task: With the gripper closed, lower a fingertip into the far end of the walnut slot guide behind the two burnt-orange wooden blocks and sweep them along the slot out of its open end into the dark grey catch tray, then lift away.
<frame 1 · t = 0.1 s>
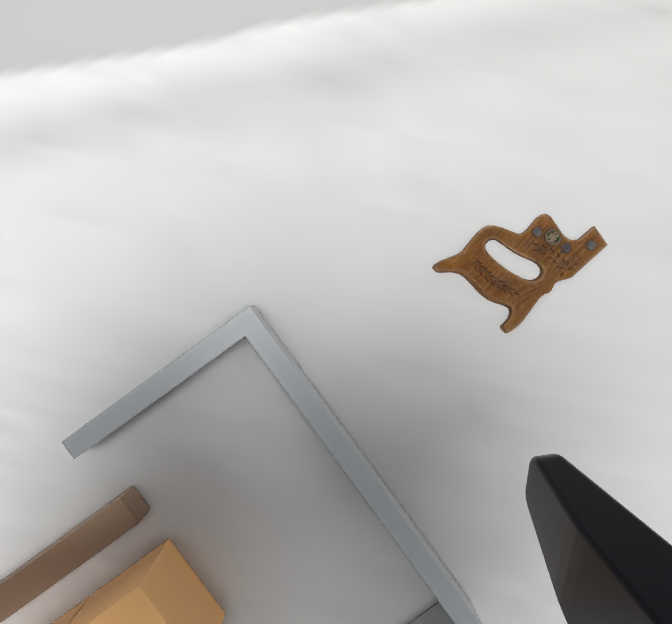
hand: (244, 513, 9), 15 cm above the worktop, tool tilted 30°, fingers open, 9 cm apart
block 1: (159, 603, 24), on the worktop
catch tray: (272, 522, 24), on the worktop
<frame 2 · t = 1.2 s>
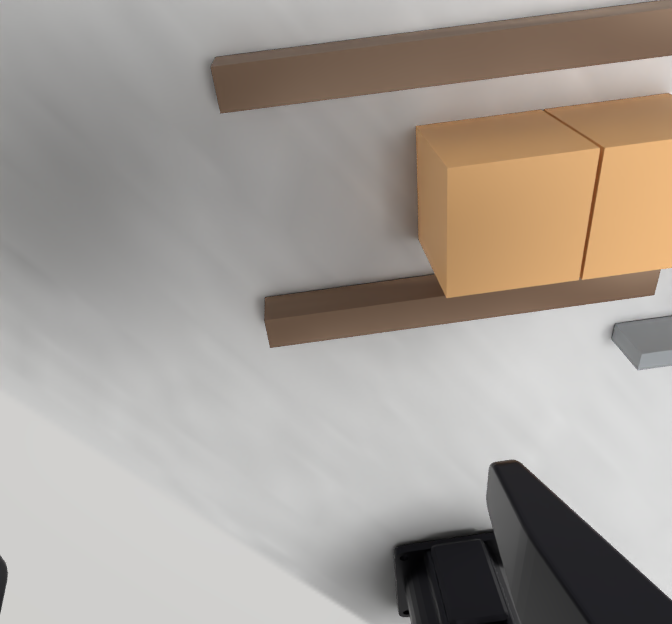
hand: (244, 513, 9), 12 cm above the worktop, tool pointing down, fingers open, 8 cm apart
block 2: (475, 177, 19), on the worktop
block 1: (594, 161, 19), on the worktop
slot guide: (454, 181, 19), on the worktop
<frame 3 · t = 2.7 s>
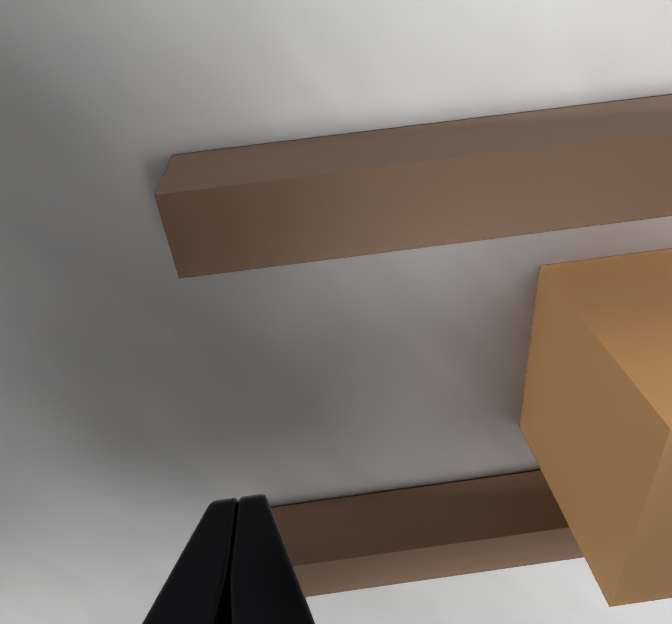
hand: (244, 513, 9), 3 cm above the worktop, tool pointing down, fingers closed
block 2: (626, 338, 11), on the worktop
slot guide: (592, 347, 11), on the worktop
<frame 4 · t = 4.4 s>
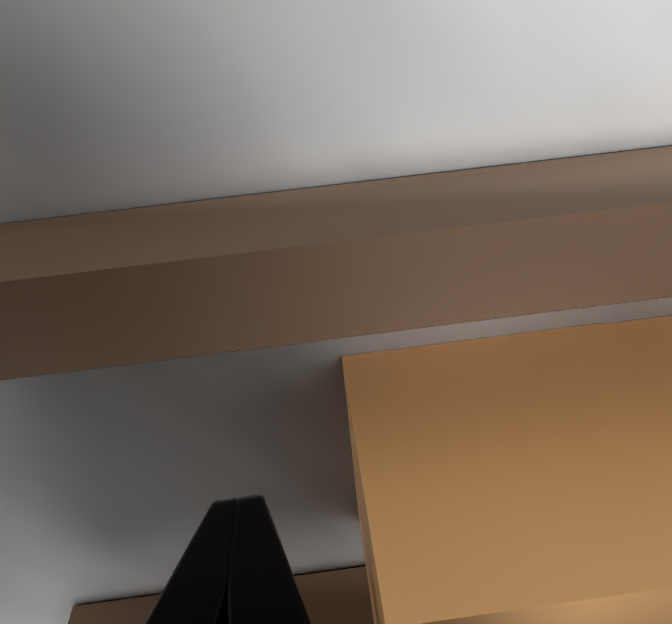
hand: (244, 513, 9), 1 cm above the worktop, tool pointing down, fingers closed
block 2: (467, 431, 10), on the worktop, touching block 1, gripper
slot guide: (416, 441, 10), on the worktop
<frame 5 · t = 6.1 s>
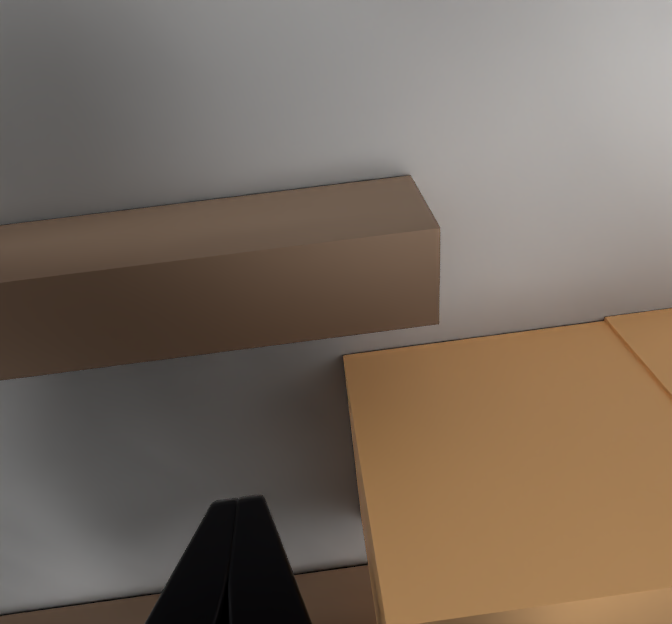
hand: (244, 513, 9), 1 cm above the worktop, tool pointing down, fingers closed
block 2: (469, 431, 10), on the worktop, touching block 1, gripper
slot guide: (1, 495, 9), on the worktop
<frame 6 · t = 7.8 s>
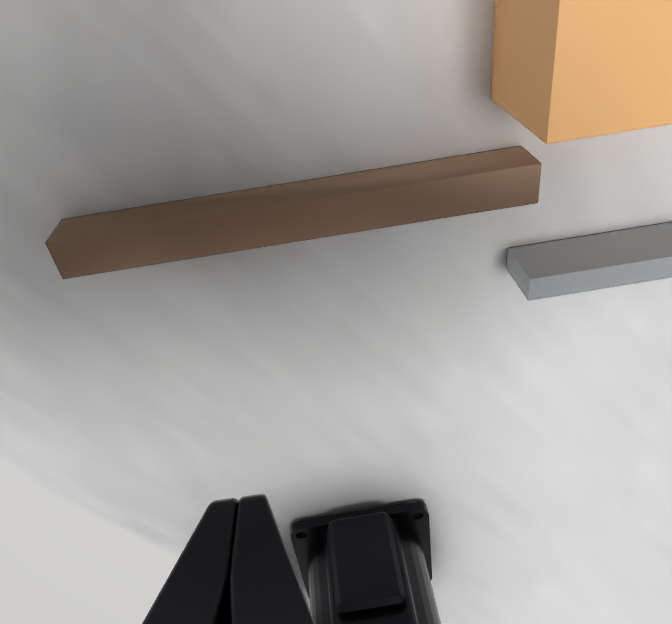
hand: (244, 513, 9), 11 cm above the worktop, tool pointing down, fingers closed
block 2: (566, 10, 15), on the worktop, touching block 1
slot guide: (269, 58, 15), on the worktop
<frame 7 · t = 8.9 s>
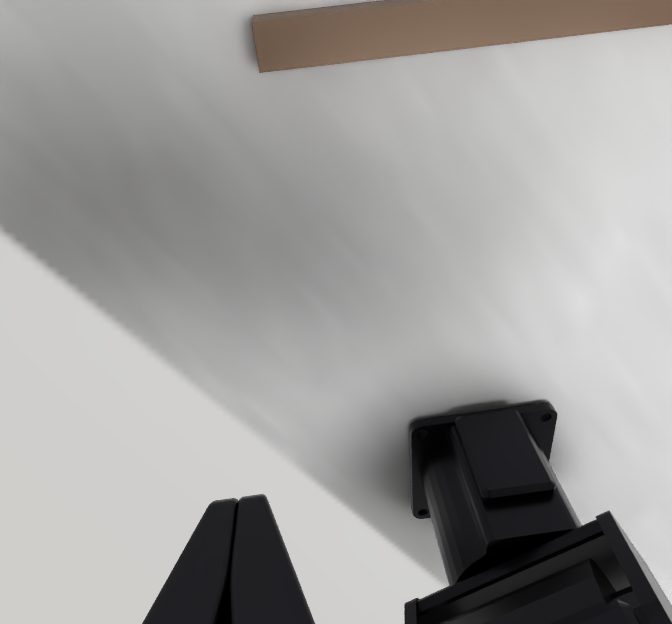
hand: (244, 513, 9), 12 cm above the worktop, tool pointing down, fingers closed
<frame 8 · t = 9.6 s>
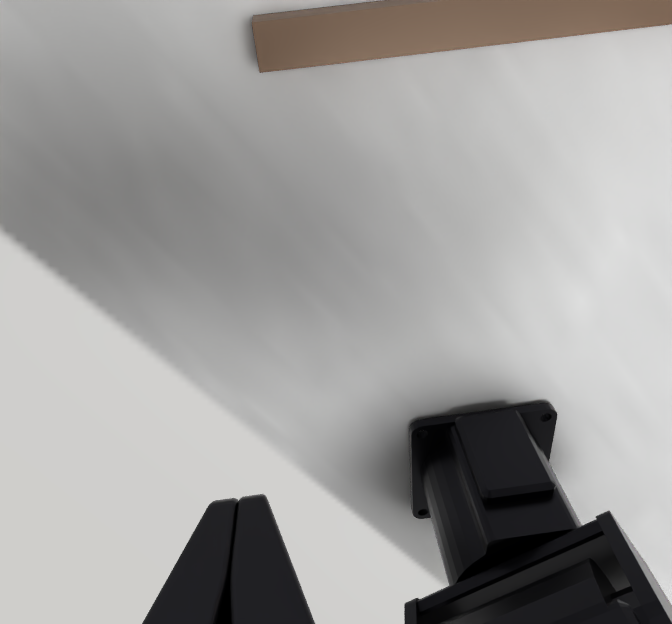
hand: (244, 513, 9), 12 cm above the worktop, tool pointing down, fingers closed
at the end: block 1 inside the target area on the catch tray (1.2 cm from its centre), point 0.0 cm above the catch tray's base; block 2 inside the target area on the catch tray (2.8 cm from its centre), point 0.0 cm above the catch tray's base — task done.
